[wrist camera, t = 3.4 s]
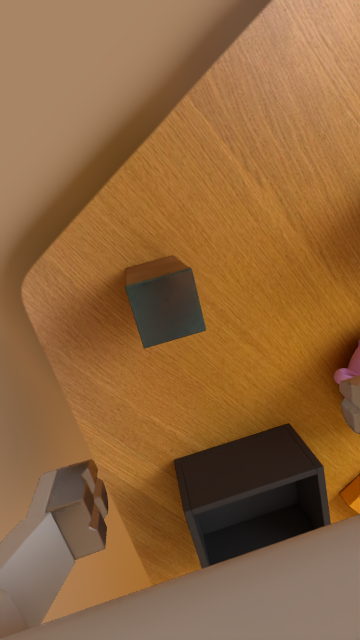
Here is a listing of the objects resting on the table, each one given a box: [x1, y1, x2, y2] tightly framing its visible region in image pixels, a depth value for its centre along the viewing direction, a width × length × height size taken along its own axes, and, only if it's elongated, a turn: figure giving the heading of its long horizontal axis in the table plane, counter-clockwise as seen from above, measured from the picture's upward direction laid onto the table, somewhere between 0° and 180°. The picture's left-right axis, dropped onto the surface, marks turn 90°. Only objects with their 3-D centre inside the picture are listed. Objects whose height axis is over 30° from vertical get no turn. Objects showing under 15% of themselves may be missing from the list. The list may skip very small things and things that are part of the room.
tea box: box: [125, 255, 206, 348], centre depth 29 cm, size 5×5×10 cm
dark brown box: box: [174, 424, 331, 569], centre depth 40 cm, size 16×14×8 cm
